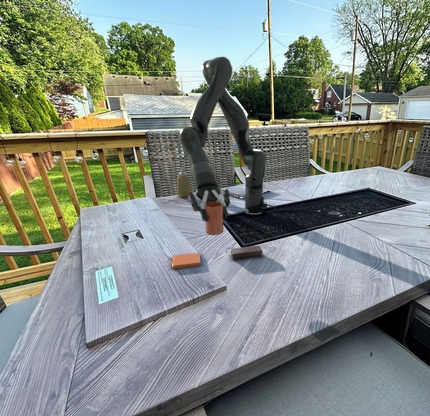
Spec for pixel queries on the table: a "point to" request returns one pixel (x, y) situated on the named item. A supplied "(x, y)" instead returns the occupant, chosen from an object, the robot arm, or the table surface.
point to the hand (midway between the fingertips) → (216, 219)
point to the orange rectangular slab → (186, 260)
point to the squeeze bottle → (183, 184)
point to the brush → (246, 252)
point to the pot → (214, 218)
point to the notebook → (236, 191)
